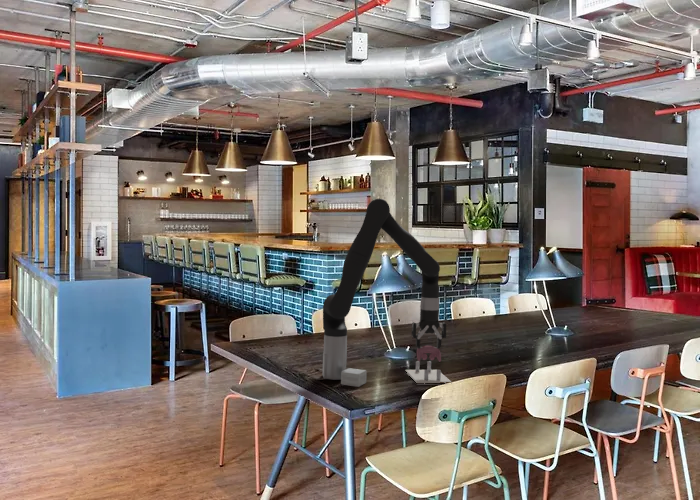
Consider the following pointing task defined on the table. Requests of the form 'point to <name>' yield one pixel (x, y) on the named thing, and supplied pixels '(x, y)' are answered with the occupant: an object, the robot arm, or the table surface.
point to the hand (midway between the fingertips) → (428, 348)
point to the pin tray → (430, 378)
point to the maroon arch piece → (428, 349)
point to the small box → (353, 377)
